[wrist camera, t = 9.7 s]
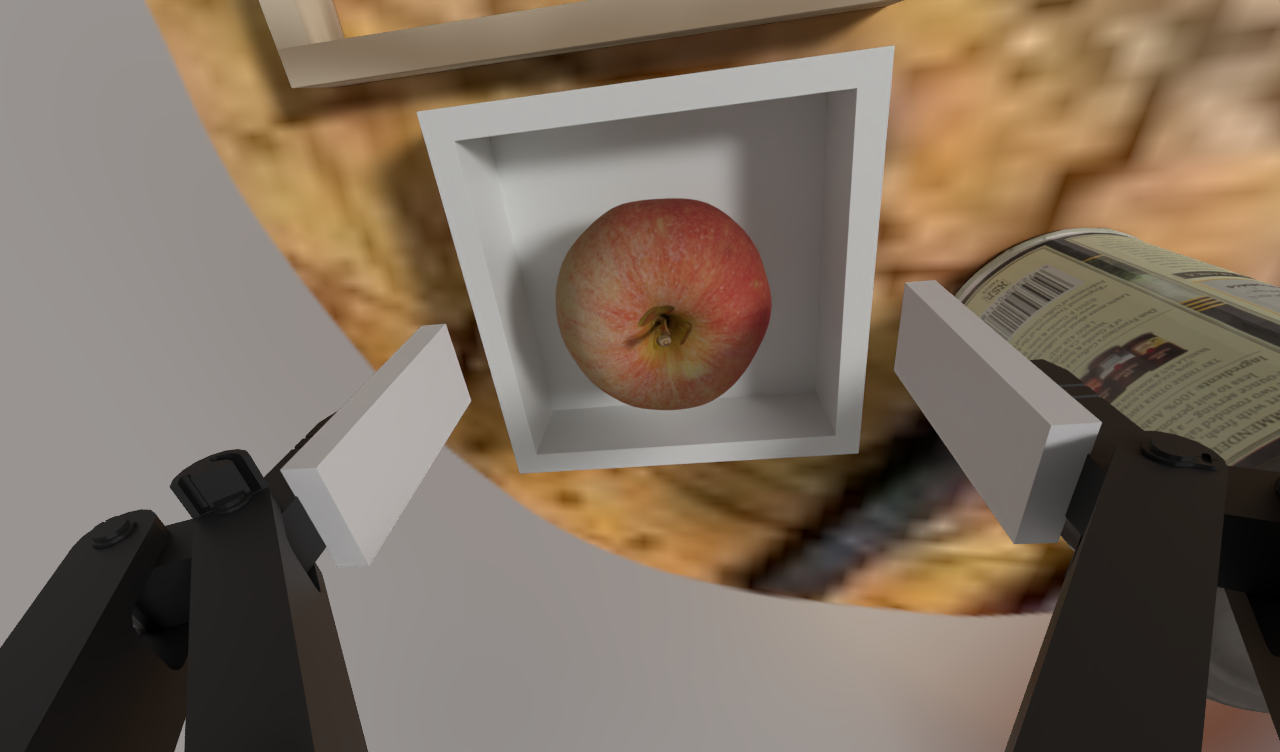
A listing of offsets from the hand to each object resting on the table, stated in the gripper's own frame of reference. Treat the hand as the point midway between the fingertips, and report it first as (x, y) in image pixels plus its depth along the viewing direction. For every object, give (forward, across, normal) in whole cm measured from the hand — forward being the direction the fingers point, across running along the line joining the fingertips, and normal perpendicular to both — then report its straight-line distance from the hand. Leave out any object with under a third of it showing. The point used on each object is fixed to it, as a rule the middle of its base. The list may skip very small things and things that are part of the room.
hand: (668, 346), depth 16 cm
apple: (+9, 0, -1) cm, 9 cm away
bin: (+9, 0, -1) cm, 9 cm away
